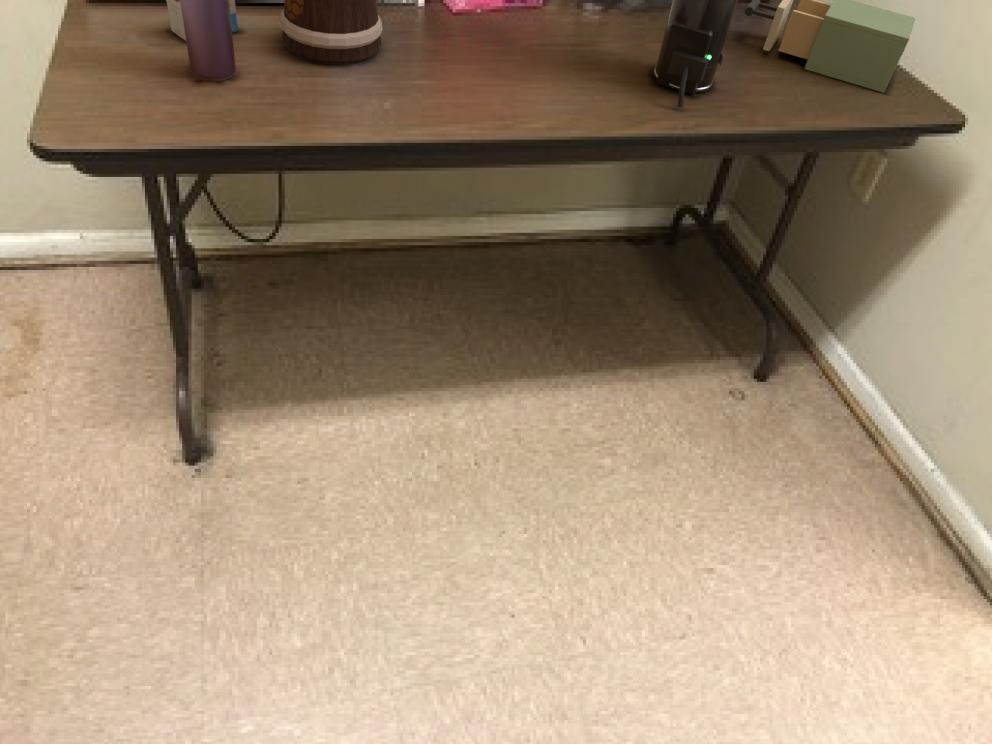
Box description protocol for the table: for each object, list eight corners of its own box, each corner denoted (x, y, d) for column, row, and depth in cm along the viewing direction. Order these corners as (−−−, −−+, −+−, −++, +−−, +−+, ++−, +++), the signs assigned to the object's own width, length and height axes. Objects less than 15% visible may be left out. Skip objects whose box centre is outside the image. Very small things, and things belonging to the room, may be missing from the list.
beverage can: (224, 86, 110) (211, -31, 100) (182, 77, 111) (165, -40, 100) (243, 69, 115) (232, -45, 104) (203, 60, 115) (188, -54, 105)
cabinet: (804, 69, 140) (825, 15, 133) (815, 47, 148) (836, -5, 141) (883, 92, 136) (909, 38, 130) (891, 69, 144) (915, 17, 138)
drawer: (732, 40, 143) (746, -3, 138) (746, 23, 150) (760, -19, 145) (834, 70, 138) (852, 27, 133) (843, 51, 145) (860, 9, 140)
